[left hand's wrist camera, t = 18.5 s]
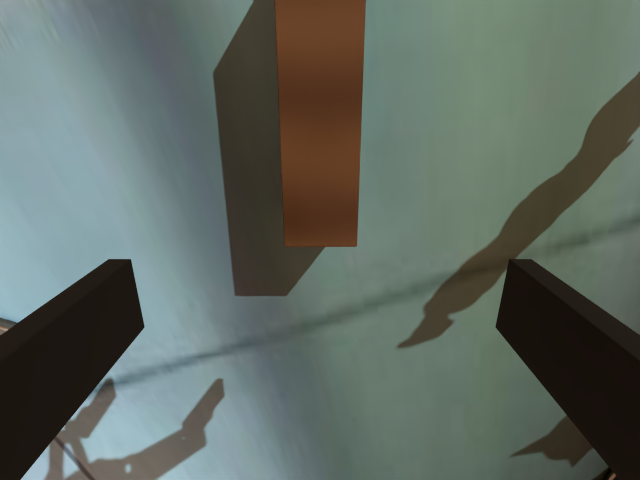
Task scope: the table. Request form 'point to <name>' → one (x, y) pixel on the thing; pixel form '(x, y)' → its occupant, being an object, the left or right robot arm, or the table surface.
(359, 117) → the bar
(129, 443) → the table surface
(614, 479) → the right robot arm
